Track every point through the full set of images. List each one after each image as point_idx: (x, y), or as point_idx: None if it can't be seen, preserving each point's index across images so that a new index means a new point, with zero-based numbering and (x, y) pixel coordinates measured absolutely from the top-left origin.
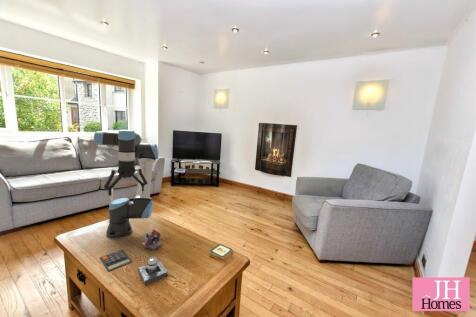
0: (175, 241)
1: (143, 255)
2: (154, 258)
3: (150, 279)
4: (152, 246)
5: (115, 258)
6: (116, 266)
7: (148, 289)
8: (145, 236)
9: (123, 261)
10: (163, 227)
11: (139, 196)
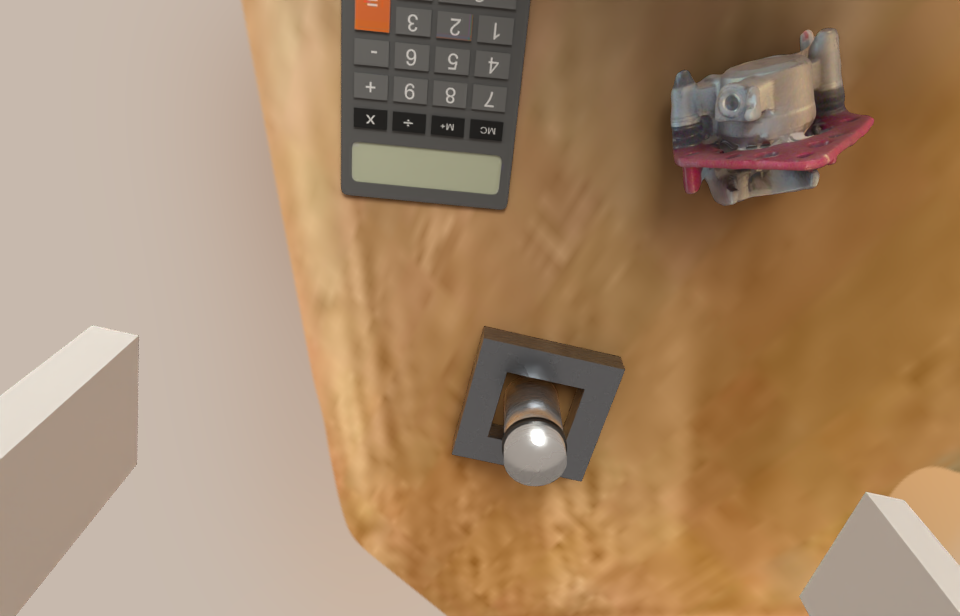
0: (909, 208)
1: (604, 194)
2: (549, 463)
3: (483, 456)
4: (710, 177)
5: (431, 77)
6: (401, 181)
7: (450, 476)
8: (717, 119)
9: (460, 160)
10: None
11: (850, 538)
